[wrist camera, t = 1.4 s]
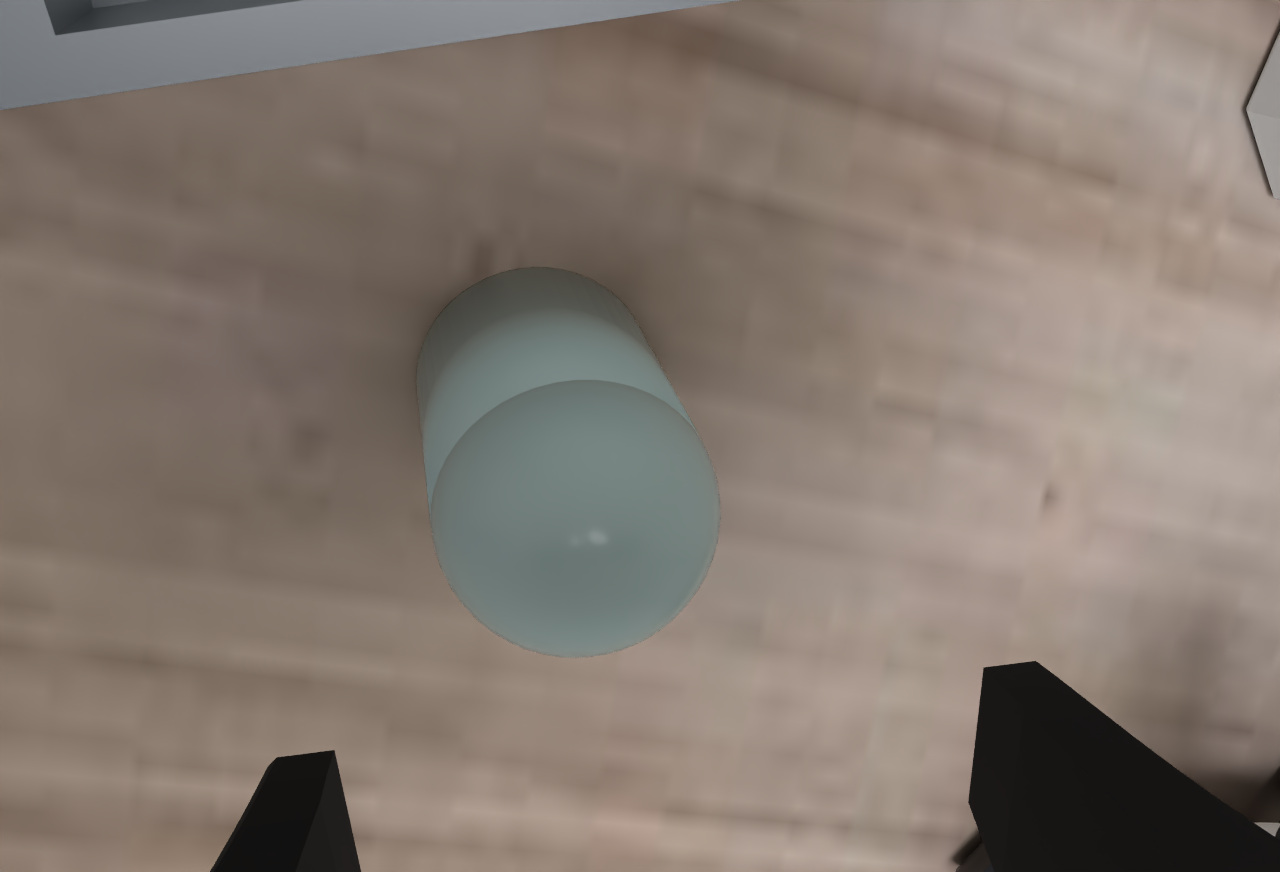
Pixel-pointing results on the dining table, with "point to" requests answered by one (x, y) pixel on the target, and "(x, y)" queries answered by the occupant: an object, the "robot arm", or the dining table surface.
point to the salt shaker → (1268, 117)
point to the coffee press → (979, 868)
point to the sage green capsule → (561, 466)
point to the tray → (247, 36)
